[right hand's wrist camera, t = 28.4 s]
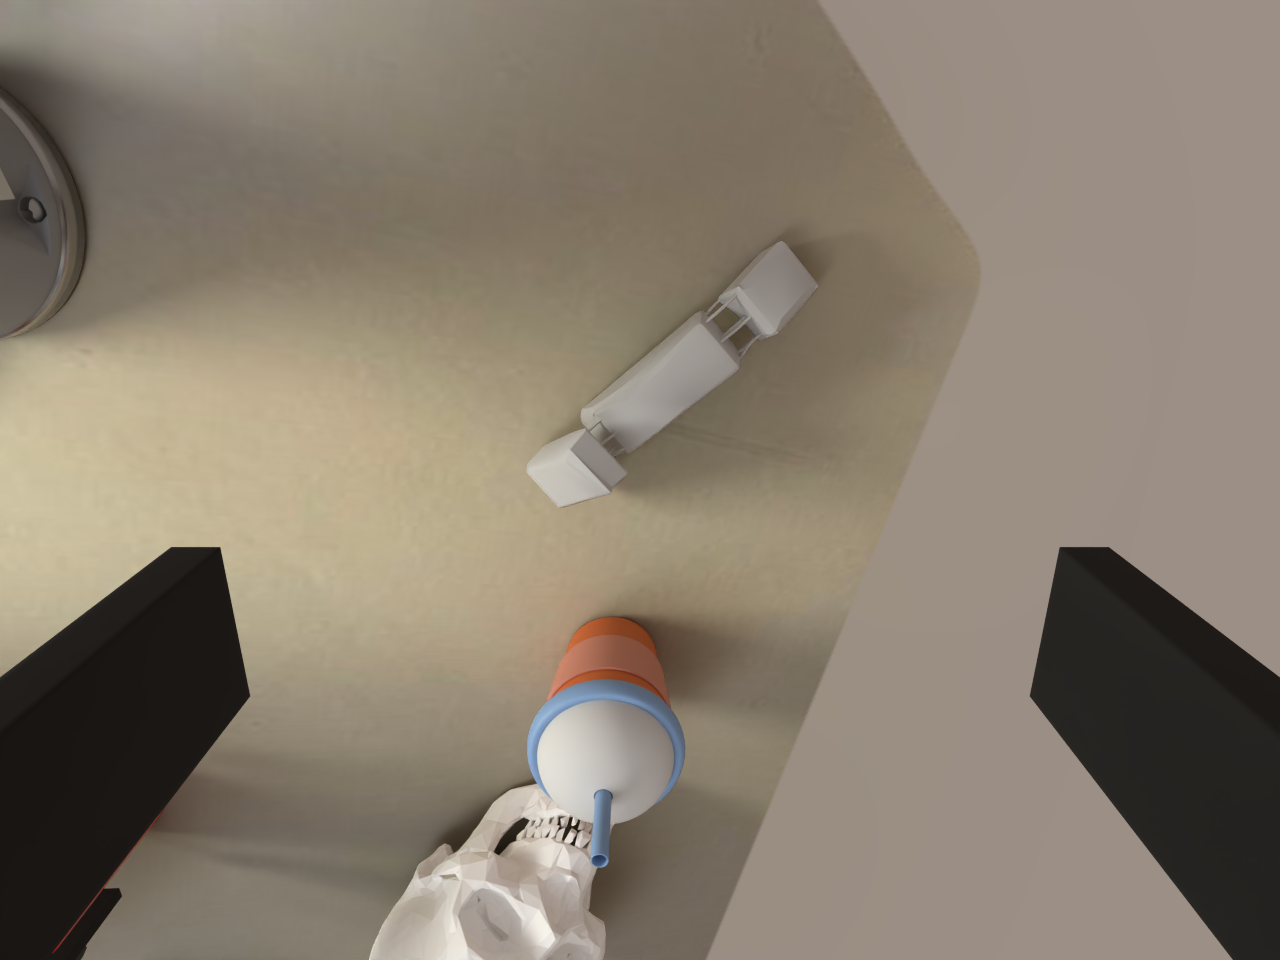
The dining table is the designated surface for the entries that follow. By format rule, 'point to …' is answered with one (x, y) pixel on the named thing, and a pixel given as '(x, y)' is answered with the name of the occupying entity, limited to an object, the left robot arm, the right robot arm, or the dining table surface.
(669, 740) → the cup with straw
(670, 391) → the white segmented block model
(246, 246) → the dining table surface
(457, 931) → the skull
